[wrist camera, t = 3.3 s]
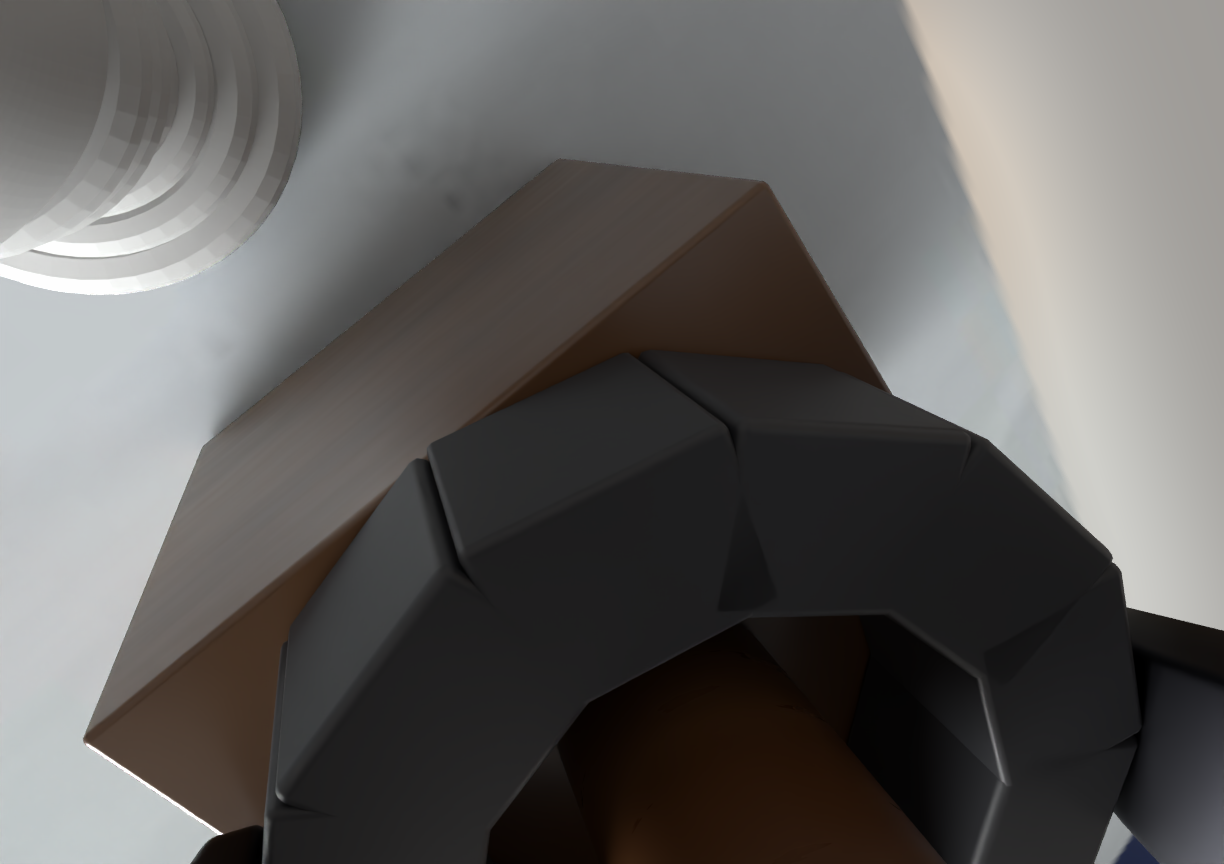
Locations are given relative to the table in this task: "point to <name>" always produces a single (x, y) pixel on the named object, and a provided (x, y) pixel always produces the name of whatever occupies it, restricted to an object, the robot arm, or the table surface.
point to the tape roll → (704, 610)
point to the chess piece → (140, 137)
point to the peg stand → (400, 432)
